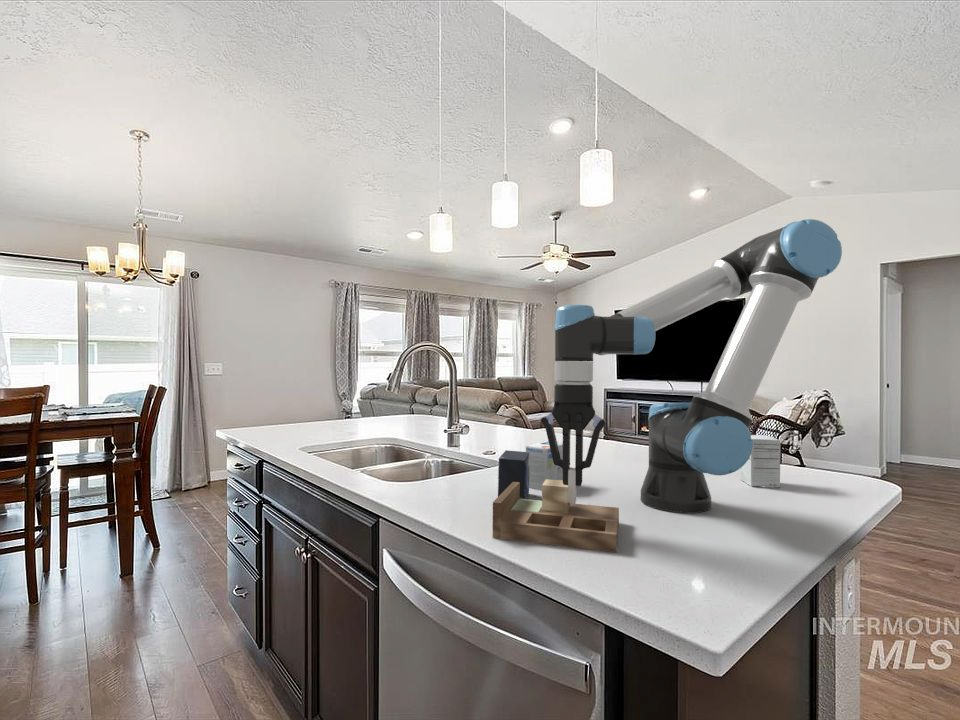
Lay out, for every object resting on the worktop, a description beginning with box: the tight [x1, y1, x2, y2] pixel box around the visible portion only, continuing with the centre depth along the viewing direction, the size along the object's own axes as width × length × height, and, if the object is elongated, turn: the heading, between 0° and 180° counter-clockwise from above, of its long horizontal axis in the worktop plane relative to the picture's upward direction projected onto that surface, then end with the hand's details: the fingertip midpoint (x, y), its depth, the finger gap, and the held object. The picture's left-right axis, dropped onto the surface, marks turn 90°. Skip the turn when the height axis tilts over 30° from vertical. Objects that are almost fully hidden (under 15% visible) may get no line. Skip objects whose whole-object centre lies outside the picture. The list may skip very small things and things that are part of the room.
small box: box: [497, 450, 530, 499], centre depth 116 cm, size 11×6×10 cm, turn 168°
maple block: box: [541, 479, 570, 513], centre depth 99 cm, size 5×5×5 cm
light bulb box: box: [525, 440, 563, 491], centre depth 129 cm, size 11×7×11 cm, turn 144°
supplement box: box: [739, 434, 781, 488], centre depth 131 cm, size 7×7×13 cm
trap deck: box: [492, 482, 620, 553], centre depth 95 cm, size 22×16×6 cm
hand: (572, 501), depth 98 cm, fingers closed
